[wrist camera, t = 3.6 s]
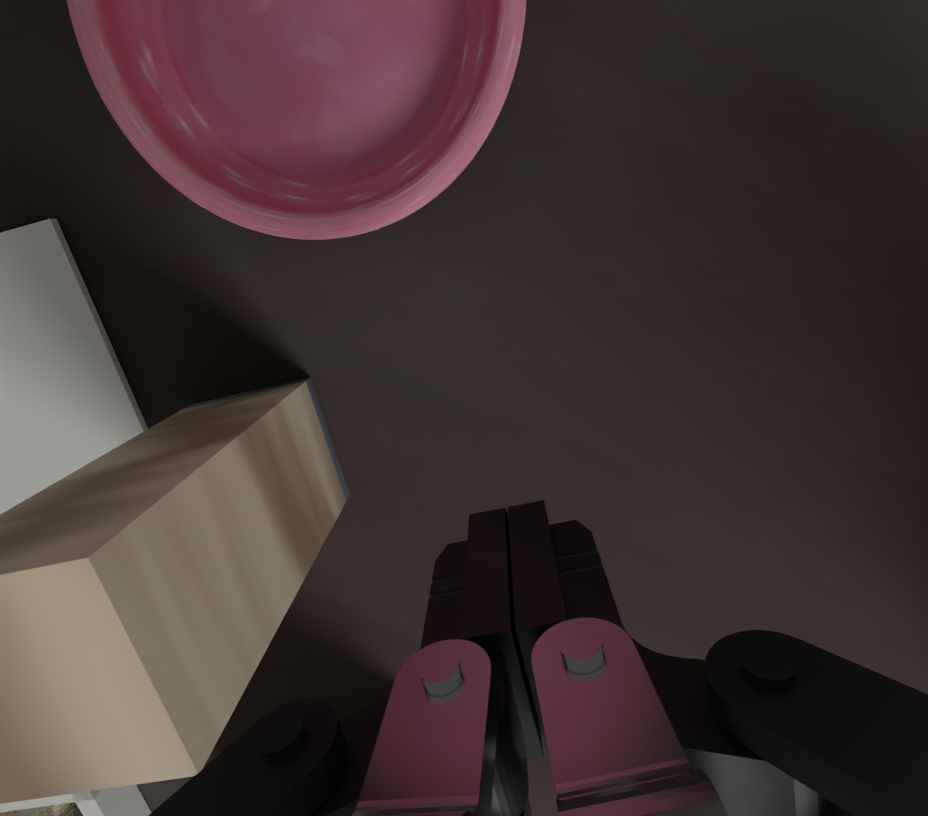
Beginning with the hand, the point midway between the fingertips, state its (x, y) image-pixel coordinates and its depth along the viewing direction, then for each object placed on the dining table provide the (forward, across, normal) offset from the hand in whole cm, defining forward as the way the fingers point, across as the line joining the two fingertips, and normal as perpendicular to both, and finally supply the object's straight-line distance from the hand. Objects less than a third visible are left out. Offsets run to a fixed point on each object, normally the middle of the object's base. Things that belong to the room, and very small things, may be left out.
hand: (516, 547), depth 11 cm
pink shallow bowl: (+10, +3, -13) cm, 17 cm away
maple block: (+10, +9, 0) cm, 14 cm away
